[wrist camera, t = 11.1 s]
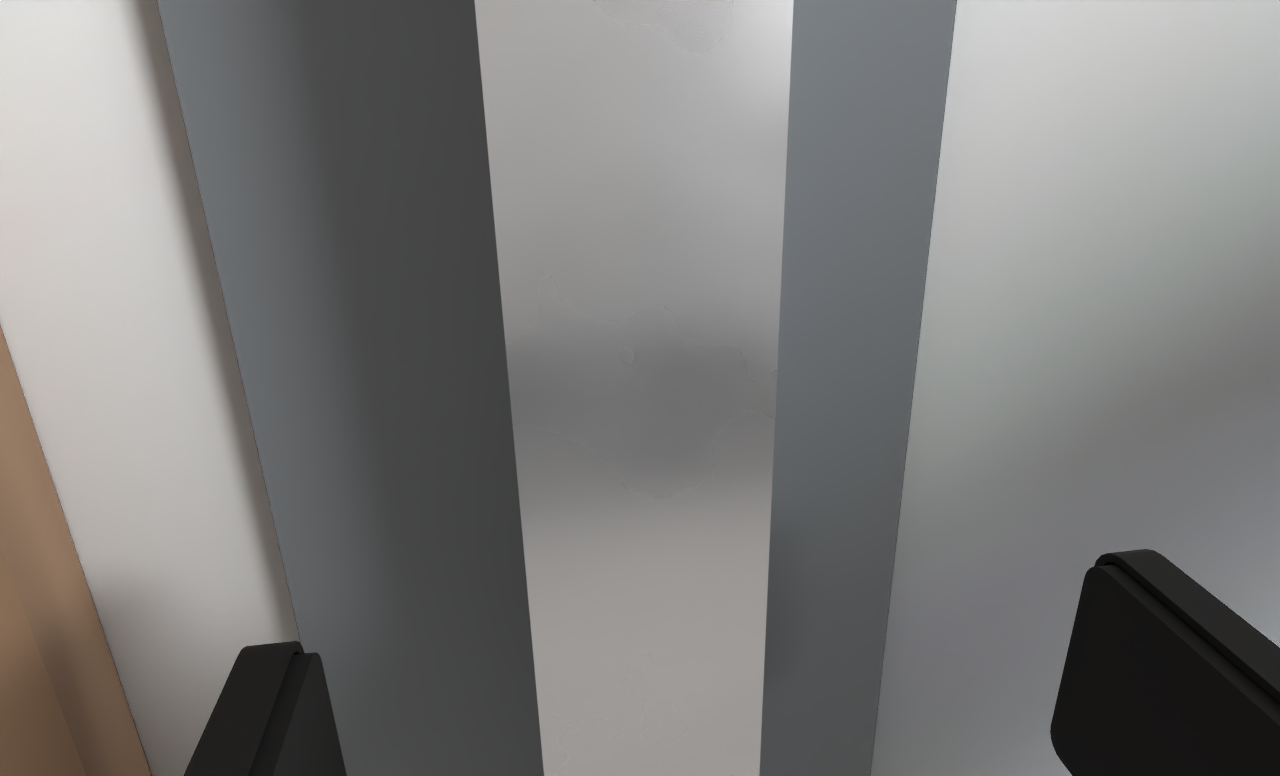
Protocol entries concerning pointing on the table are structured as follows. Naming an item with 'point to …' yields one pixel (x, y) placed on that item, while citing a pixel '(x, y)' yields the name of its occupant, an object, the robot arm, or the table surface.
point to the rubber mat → (477, 364)
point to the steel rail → (642, 362)
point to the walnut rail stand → (50, 625)
